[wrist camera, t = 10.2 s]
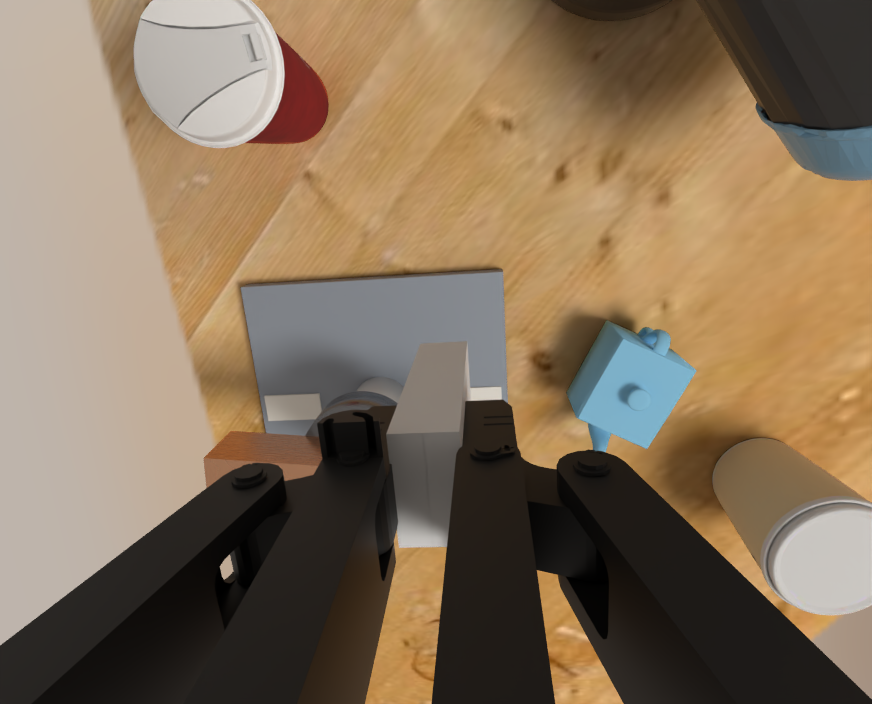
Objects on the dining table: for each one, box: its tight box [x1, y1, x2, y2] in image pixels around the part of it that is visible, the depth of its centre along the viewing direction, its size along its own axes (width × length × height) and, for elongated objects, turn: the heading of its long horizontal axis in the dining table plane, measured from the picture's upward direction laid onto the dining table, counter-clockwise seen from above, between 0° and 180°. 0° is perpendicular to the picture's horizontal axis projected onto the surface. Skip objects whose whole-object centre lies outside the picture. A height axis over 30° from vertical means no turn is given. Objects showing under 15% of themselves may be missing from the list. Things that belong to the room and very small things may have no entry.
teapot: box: [566, 320, 696, 452], centre depth 44 cm, size 12×6×8 cm, turn 156°
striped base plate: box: [241, 269, 508, 436], centre depth 46 cm, size 22×22×8 cm
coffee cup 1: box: [134, 0, 328, 148], centre depth 36 cm, size 8×8×15 cm
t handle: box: [204, 391, 398, 488], centre depth 38 cm, size 18×8×7 cm, turn 88°
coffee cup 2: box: [712, 438, 872, 615], centre depth 43 cm, size 9×9×12 cm
